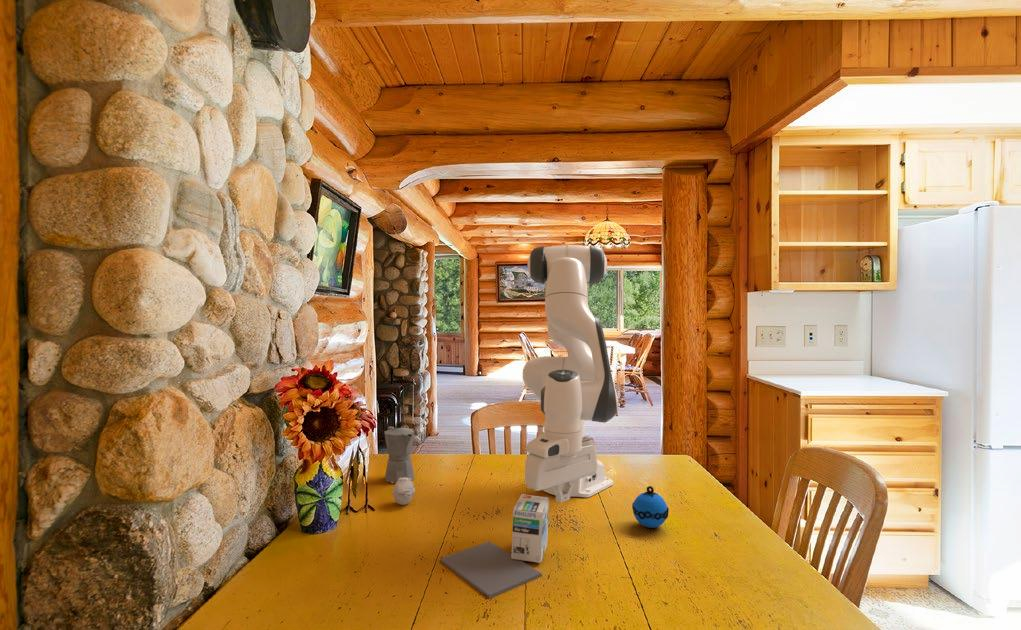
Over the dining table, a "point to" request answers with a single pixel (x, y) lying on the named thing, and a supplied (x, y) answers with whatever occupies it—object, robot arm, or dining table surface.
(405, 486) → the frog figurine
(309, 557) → the dining table surface
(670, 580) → the dining table surface
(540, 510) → the light bulb box
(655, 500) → the ornament
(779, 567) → the dining table surface
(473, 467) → the dining table surface
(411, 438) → the coffeepot
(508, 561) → the mat
